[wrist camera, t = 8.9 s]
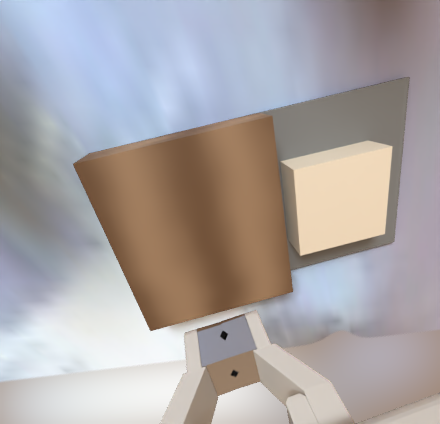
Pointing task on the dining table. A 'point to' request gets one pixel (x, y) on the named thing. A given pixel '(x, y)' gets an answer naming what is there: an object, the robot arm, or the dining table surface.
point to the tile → (336, 195)
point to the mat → (345, 144)
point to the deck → (194, 218)
